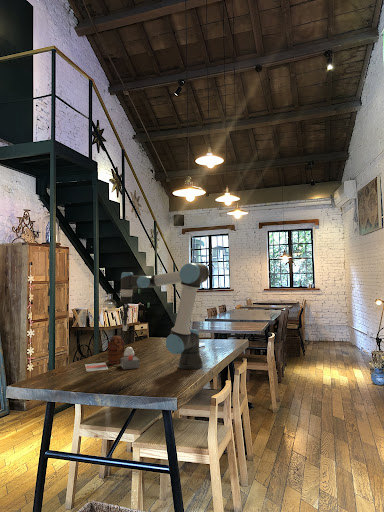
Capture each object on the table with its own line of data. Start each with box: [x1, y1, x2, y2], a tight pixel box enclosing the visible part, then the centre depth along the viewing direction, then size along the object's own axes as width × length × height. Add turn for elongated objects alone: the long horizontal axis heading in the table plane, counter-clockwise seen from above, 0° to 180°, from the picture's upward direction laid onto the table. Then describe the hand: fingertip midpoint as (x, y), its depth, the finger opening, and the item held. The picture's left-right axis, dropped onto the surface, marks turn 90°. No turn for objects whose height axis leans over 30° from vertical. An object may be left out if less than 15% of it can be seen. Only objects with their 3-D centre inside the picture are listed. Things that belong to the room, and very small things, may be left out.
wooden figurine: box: [107, 335, 126, 365], centre depth 254 cm, size 12×6×18 cm, turn 148°
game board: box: [84, 362, 109, 372], centre depth 241 cm, size 22×13×1 cm, turn 18°
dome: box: [123, 346, 135, 357], centre depth 241 cm, size 6×6×5 cm
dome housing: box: [120, 356, 140, 370], centre depth 239 cm, size 12×10×7 cm
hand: (125, 329), depth 243 cm, fingers open, 13 cm apart
